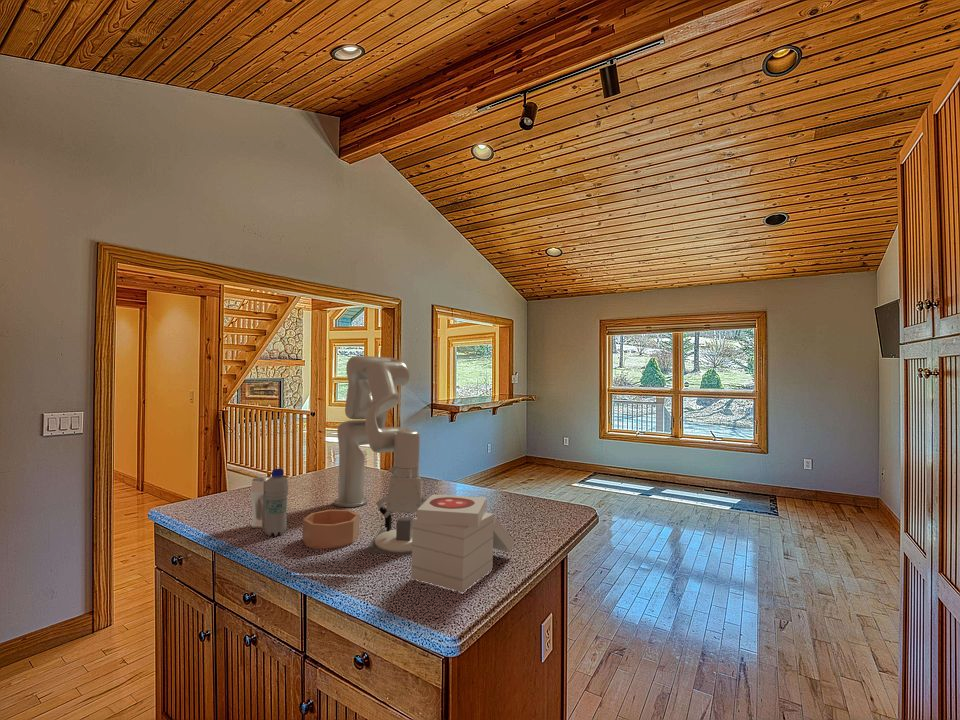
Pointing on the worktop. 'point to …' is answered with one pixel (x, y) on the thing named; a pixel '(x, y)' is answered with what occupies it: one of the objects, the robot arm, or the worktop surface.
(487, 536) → the pizza boxes
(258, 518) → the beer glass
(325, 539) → the bowl
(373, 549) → the mat
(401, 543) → the lid
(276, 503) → the bottle
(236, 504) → the worktop surface
